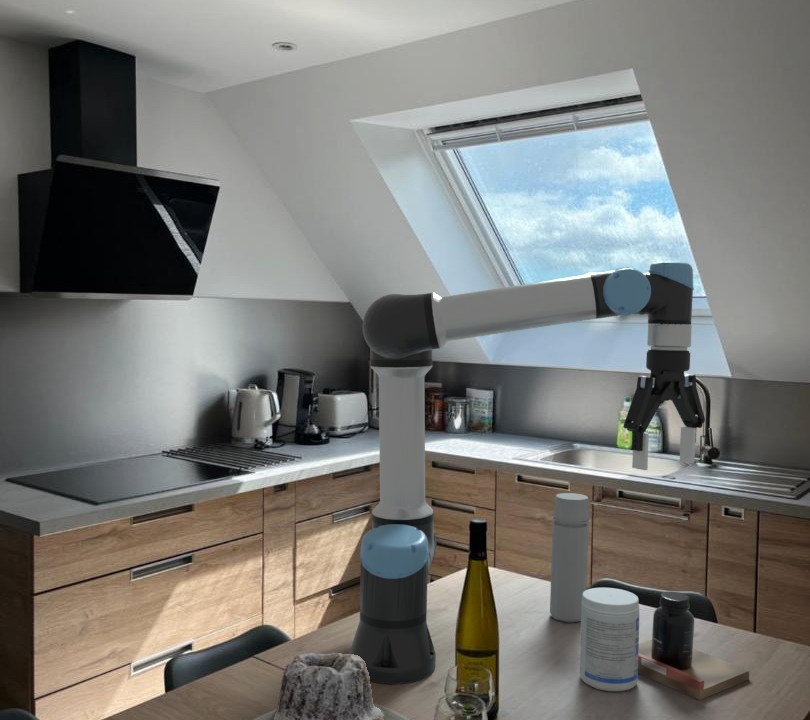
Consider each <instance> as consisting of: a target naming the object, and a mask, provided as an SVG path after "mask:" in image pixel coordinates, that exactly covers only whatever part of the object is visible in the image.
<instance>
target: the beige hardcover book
mask: <svg viewBox="0 0 810 720" xmlns="http://www.w3.org/2000/svg"><path fill="white" fill-rule="evenodd" d="M651 650H652V639H650V640H647V641H644V642H641V643H639V650H638V674H640V675H642V676H645V677H646V678H649V679H650V680H653V681H656V682H658V683H660V684H662V685H665V686H667V687H669V688H672V689H674V690H676V691H678V692H681V693H682V694H684V695H687V696H689V697H692V698H694V699H697V701H701V700H703V699H705V698H708V697H710V696H712V695H715V694H717V693H720V692H722V691H724V690H727V689H729V688H732V687H734V686H736V685H739V684H742V683H744V682H746V681H748V680H750V670H748V669H745V668H743V667H740V666H738V665H736V664H733V663H730V662H728V661H725V660H724V659H720V658H718V657H715V656H713V655H711V654H710V655H709V654H708V653H705V652H703V651H701V650H697V649H695V648H693V654H692V664H691V666H690V667H689V668H688V669H686V670H678V669H676V668H673V667H671V666H668V665H666V664H664V663H661V662H659V661H657V660H654V659H652V658H651Z"/></svg>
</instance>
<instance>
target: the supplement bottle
mask: <svg viewBox="0 0 810 720" xmlns="http://www.w3.org/2000/svg"><path fill="white" fill-rule="evenodd" d="M659 598H660V599H659V607H657V608H656V609H655V610H654V612H653V615H652V616H653V618H652V635H651V640H652V650H651V658H652V659H654V660H657V661H659V662H661V663H664V664H666V665H668V666H671V667H673V668H676V669H678V670H686V669H688V668H689V667H690V666H691V664H692V654H693V649H694V638H695V637H694V636H695V635H694V633H695V632H694V631H695V617H694V615H693V614H692V613H691V611H690V606H691V605H690V597H689V596H688V595H687V594H685V593H682V592H678V591H672V590H671V591H663V592H661V593H660V597H659Z"/></svg>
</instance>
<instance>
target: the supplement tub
mask: <svg viewBox="0 0 810 720" xmlns="http://www.w3.org/2000/svg"><path fill="white" fill-rule="evenodd" d="M639 602H640V601H639V597H638V595H636V594H635V593H633V592H630V591H628V590H625V589H621V588H614V587H593V588H589V589H586V591H584V592H583V595H582V602H581V603H582V604H581V621H580V648H579V649H580V650H579V651H580V652H579V653H580V654H579V656H580V657H579V658H580V659H579V675H580V678H581V680H582V681H583V683H586V684H587V686H590V687H593V688H594V689H596V690H599V691H605V692H606V691H607V692H625V691H628V690H631V689H633V688H634V687H635V686H636V685H637V683H638V679H639V673H638V650H639V644H640V643H639V642H640V641H639V639H640V605H639V604H640V603H639Z"/></svg>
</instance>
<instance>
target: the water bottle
mask: <svg viewBox="0 0 810 720" xmlns="http://www.w3.org/2000/svg"><path fill="white" fill-rule="evenodd" d="M589 502H590V500H589V497H588V495H585V494H581V493H576V492H575V493H574V492H562V493H561V492H560V493H557V494H555V499H554V505H553V506H554V507H553V514H552V517H550V519H551V520H553V521H552V532H551V533H552V534H551V536H552V538H551V540H552V541H551V563H550V564H551V567H550V568H551V569H550V595H549V597H550V599H549V601H550V602H549V613H550V615H551V617H552V618H553V619H555V620H557V621H559V622H564V623H577V622H581V604H582V603H581V602H582V595H583V592H584V591H586V590H587V584H588V583H587V581H588V580H587V578H588V575H587V574H588V553H589V552H588V550H589V524H588V523H591V522H592V521H591V519H590V517H591V515H590V503H589Z"/></svg>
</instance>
